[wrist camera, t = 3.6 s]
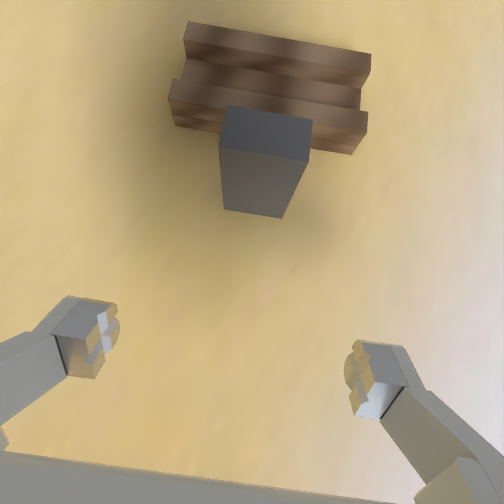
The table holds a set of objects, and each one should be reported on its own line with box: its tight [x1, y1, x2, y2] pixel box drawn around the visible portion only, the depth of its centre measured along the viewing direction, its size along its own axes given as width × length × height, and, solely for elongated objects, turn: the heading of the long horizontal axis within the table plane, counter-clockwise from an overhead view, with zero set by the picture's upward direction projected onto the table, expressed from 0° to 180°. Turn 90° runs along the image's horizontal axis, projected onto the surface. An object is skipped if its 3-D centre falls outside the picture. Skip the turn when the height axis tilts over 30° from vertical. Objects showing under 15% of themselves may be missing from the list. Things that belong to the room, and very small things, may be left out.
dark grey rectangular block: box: [219, 105, 313, 218], centre depth 22 cm, size 3×6×10 cm, turn 82°
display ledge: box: [168, 21, 371, 155], centre depth 28 cm, size 18×9×4 cm, turn 82°
